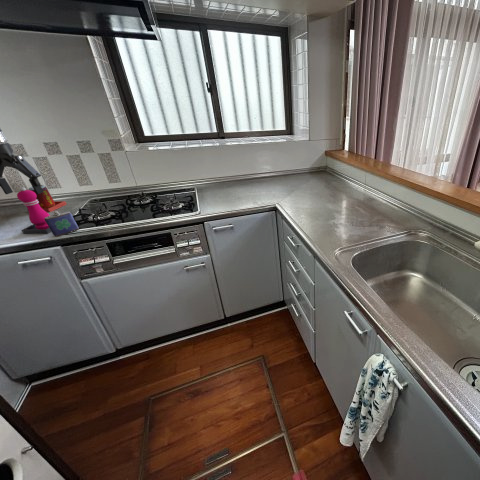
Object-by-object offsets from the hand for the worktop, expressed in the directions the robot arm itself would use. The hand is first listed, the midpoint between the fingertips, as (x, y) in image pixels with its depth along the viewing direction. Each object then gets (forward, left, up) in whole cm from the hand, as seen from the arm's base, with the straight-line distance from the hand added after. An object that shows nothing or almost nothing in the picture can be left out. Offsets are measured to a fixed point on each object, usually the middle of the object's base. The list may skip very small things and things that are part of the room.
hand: (24, 193), depth 119 cm
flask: (+14, -5, -18) cm, 23 cm away
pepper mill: (0, 0, -17) cm, 17 cm away
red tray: (-20, +24, -18) cm, 36 cm away
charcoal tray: (0, 0, -18) cm, 18 cm away
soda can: (-20, +24, -17) cm, 36 cm away
